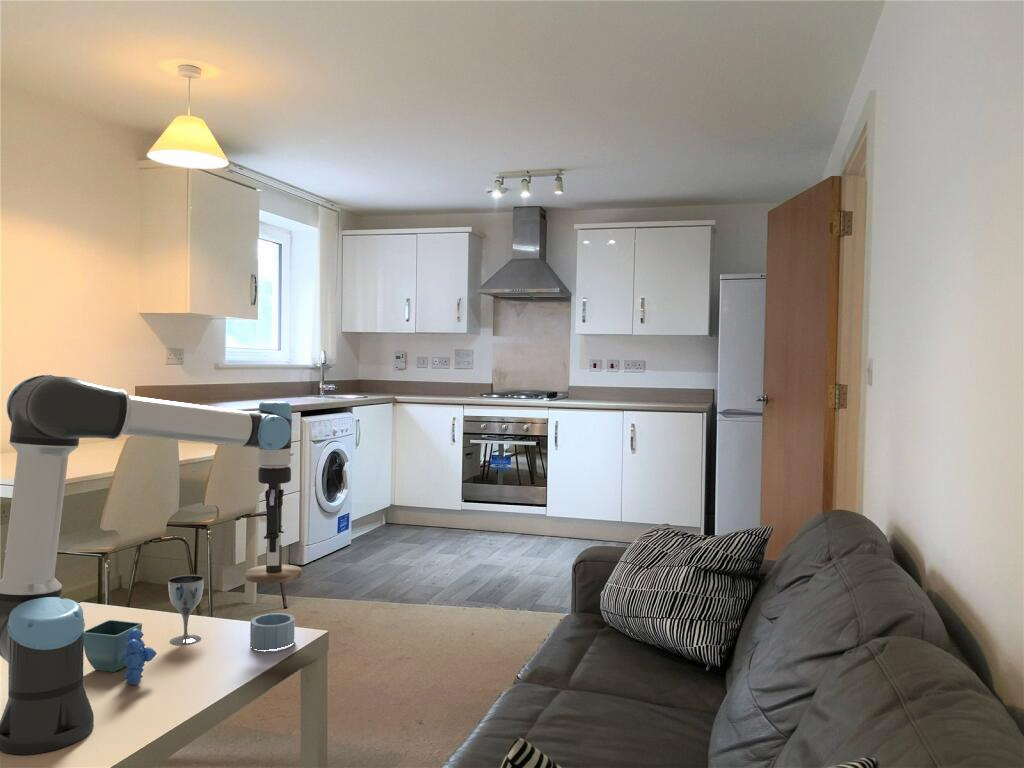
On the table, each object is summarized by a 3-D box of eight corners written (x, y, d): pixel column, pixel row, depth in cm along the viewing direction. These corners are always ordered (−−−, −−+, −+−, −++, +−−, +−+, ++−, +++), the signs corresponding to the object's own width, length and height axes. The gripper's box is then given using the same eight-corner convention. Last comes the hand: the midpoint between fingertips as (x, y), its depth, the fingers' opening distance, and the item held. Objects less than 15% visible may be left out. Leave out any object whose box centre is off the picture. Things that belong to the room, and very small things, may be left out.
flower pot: (116, 677, 169) (116, 635, 169) (80, 673, 171) (80, 632, 170) (143, 662, 177) (143, 622, 177) (108, 658, 179) (109, 619, 179)
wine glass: (197, 632, 198) (198, 572, 197) (207, 641, 191) (207, 580, 191) (164, 638, 193) (164, 577, 192) (172, 648, 186) (173, 585, 186)
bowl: (292, 650, 186) (292, 625, 186) (248, 652, 184) (248, 627, 184) (295, 636, 196) (296, 612, 196) (253, 638, 194) (253, 614, 194)
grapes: (155, 692, 162) (155, 633, 161) (118, 696, 159) (118, 637, 159) (157, 671, 172) (158, 616, 172) (123, 675, 170) (123, 619, 170)
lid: (298, 582, 184) (299, 552, 184) (240, 584, 182) (241, 553, 182) (304, 568, 197) (304, 539, 197) (250, 569, 195) (250, 540, 195)
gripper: (288, 470, 182) (286, 571, 182) (293, 461, 198) (292, 554, 199) (254, 470, 180) (253, 572, 181) (262, 461, 197) (261, 555, 197)
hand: (273, 562), depth 190 cm, fingers closed on lid, 4 cm apart
